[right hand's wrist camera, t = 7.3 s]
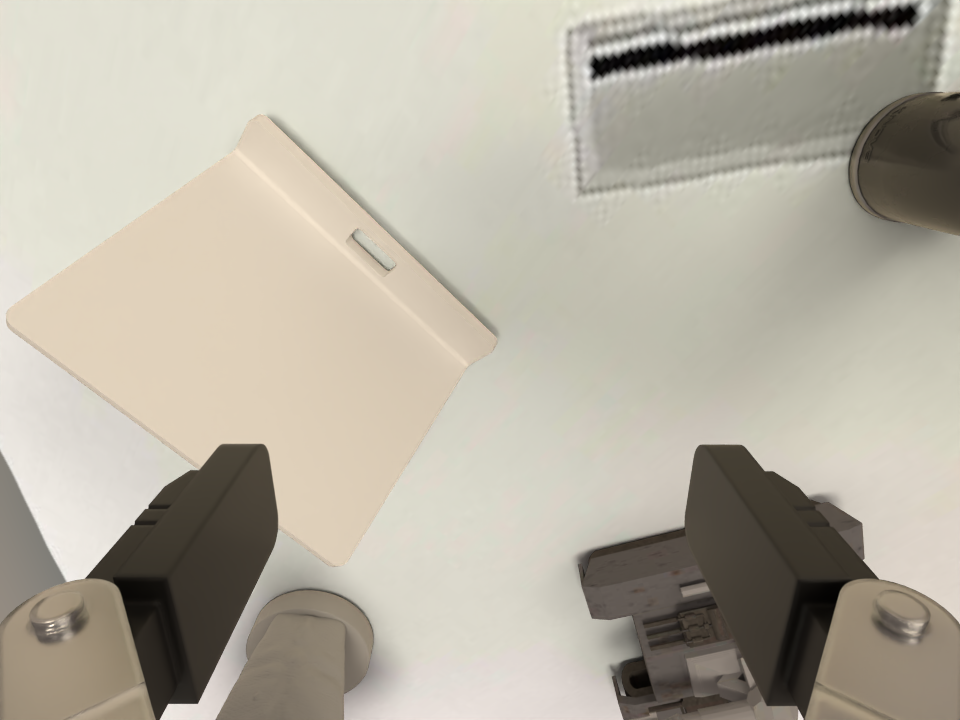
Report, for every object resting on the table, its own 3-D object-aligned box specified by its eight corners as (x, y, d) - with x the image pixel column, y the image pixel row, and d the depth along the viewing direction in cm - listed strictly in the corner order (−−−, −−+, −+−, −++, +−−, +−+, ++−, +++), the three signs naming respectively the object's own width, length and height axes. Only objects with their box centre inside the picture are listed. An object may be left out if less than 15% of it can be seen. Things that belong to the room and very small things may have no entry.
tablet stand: (363, 460, 56) (317, 593, 40) (135, 276, 50) (-26, 348, 34) (501, 332, 51) (510, 425, 36) (269, 109, 45) (155, 102, 29)
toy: (831, 490, 57) (943, 608, 43) (846, 641, 64) (947, 783, 50) (574, 552, 60) (602, 682, 46) (615, 690, 67) (651, 839, 53)
